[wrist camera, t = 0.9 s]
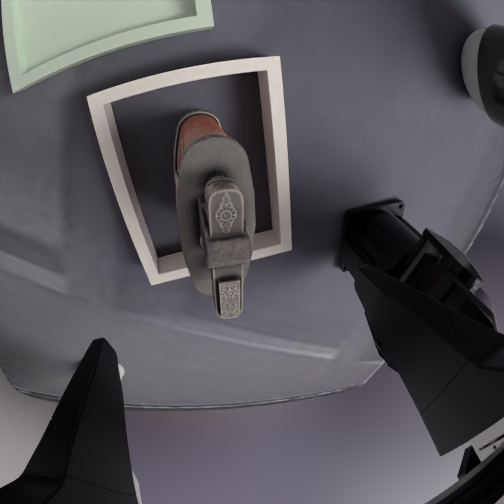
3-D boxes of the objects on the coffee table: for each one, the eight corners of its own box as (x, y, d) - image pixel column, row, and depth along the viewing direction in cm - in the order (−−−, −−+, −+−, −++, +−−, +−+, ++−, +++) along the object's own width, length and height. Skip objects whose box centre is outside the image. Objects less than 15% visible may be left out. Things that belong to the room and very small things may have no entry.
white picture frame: (268, 56, 15) (279, 56, 13) (282, 235, 23) (291, 250, 22) (95, 92, 13) (86, 96, 12) (151, 268, 22) (151, 285, 20)
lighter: (169, 112, 16) (169, 164, 8) (225, 107, 16) (281, 155, 9) (179, 225, 20) (195, 339, 13) (226, 219, 21) (267, 327, 13)
